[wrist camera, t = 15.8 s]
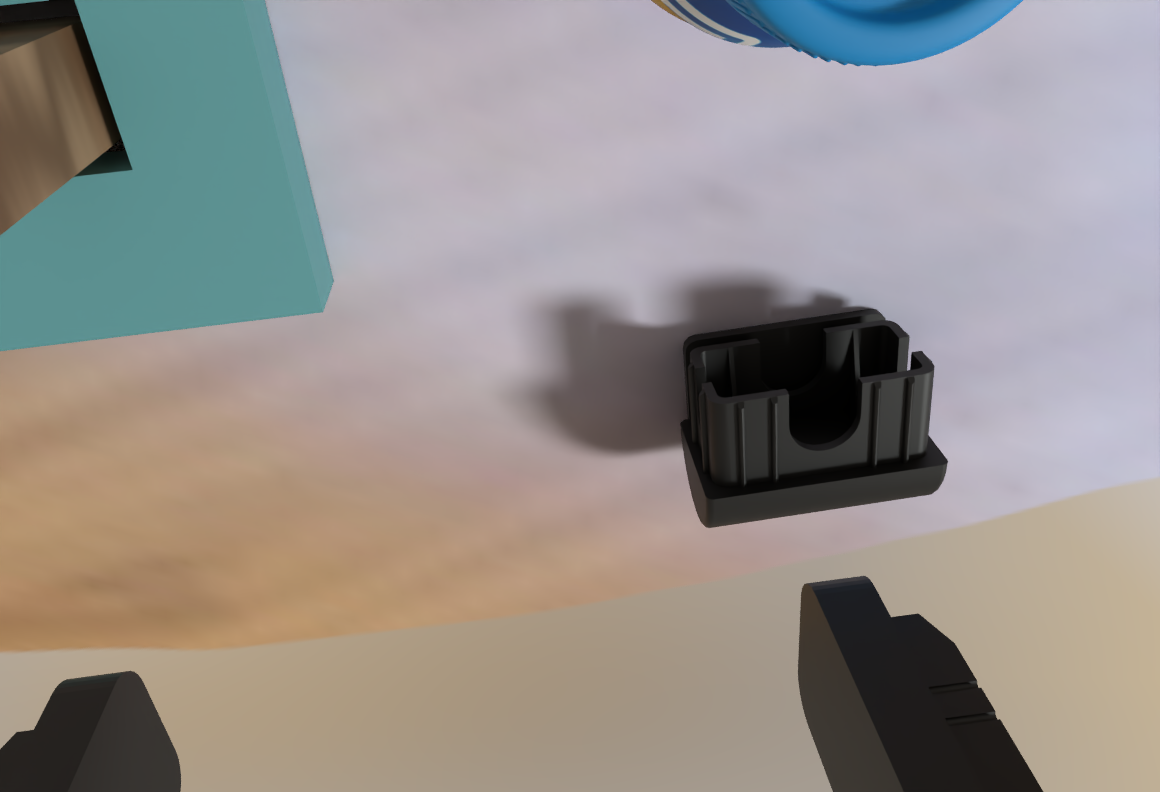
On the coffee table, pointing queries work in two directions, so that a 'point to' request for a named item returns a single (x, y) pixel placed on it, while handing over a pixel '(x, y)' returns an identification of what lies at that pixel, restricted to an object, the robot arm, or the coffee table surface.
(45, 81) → the square peg
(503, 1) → the coffee table surface
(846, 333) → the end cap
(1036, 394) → the coffee table surface
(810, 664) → the robot arm
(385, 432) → the coffee table surface
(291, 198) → the socket block
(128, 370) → the coffee table surface
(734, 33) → the beverage bottle
